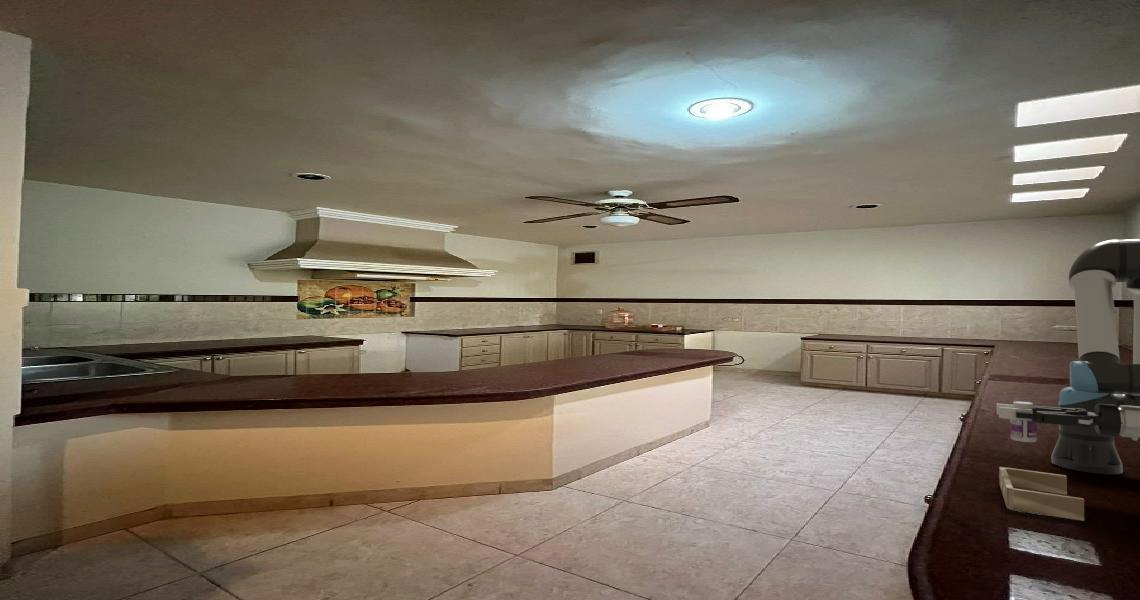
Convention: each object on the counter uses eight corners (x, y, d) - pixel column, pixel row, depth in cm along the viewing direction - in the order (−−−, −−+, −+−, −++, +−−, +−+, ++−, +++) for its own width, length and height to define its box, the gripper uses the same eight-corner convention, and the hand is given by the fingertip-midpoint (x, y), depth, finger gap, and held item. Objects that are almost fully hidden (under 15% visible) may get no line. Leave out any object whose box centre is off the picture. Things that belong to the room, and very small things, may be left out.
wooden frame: (999, 483, 146) (999, 466, 146) (1065, 493, 139) (1065, 475, 139) (1006, 508, 128) (1006, 488, 128) (1084, 520, 120) (1084, 499, 121)
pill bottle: (1032, 438, 148) (1032, 401, 148) (1040, 443, 143) (1040, 404, 143) (1007, 436, 150) (1007, 400, 150) (1013, 441, 145) (1013, 403, 145)
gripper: (1129, 444, 129) (1001, 431, 141) (1108, 429, 145) (994, 419, 157) (1129, 411, 129) (1001, 401, 141) (1108, 399, 145) (994, 391, 157)
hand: (998, 410), depth 149 cm, fingers closed on pill bottle, 5 cm apart
